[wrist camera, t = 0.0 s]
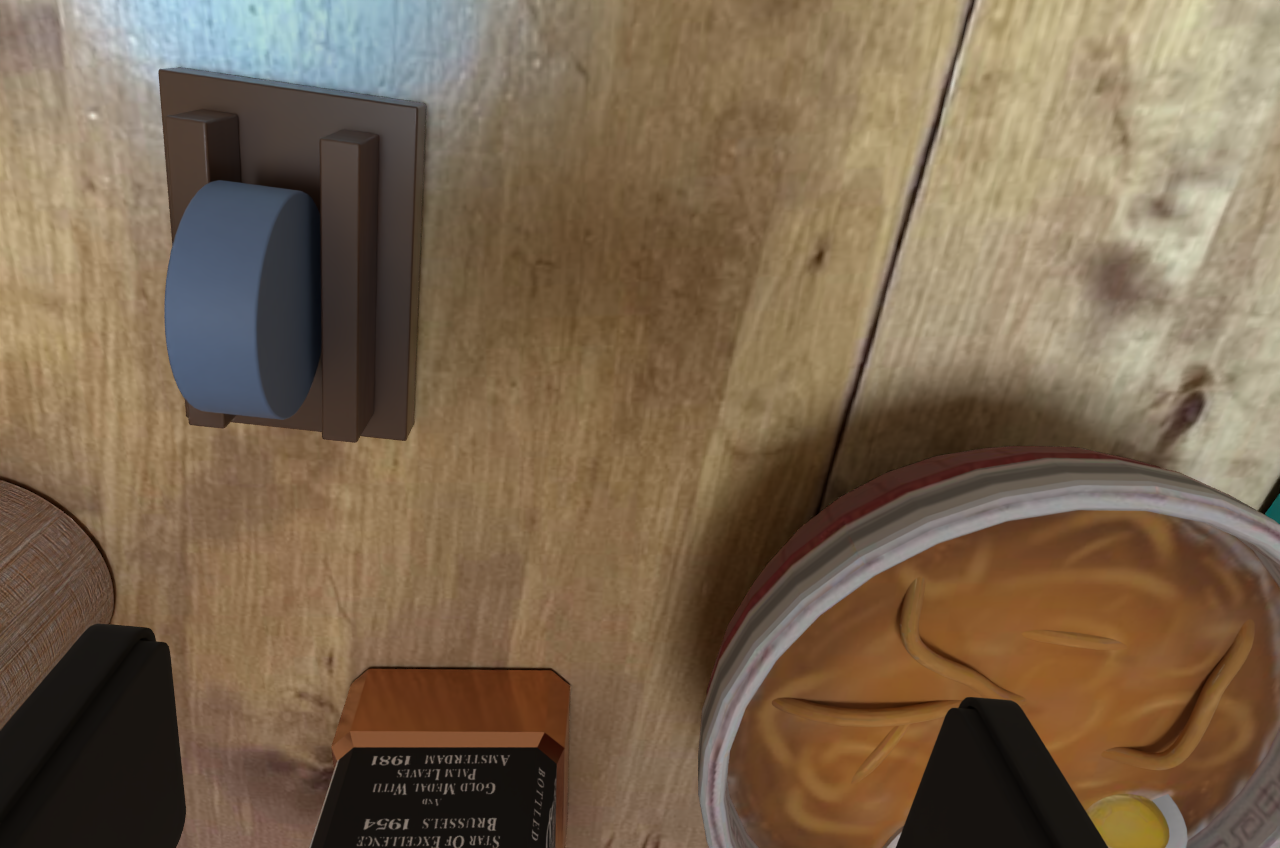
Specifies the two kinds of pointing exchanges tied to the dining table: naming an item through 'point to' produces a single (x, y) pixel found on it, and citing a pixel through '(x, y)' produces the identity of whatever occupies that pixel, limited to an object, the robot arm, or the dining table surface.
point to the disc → (245, 300)
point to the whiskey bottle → (449, 761)
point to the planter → (43, 591)
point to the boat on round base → (1274, 510)
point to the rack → (321, 226)
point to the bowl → (1006, 652)
